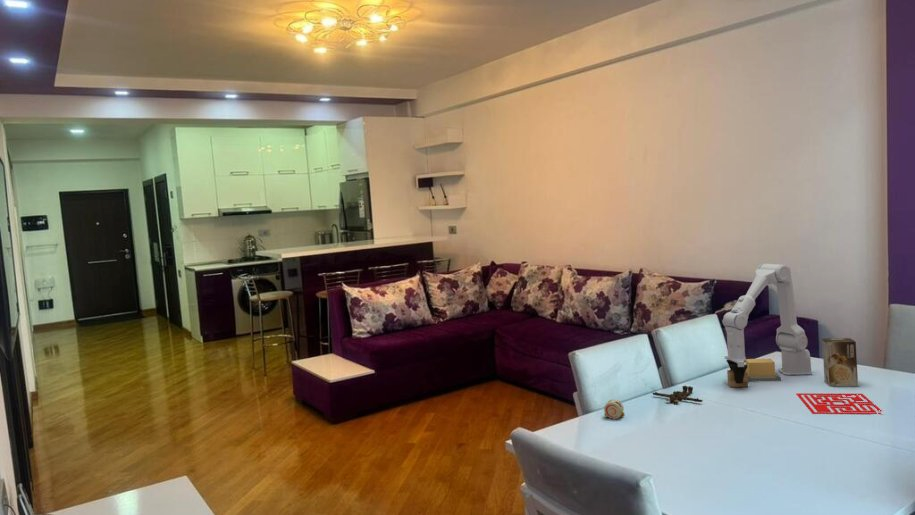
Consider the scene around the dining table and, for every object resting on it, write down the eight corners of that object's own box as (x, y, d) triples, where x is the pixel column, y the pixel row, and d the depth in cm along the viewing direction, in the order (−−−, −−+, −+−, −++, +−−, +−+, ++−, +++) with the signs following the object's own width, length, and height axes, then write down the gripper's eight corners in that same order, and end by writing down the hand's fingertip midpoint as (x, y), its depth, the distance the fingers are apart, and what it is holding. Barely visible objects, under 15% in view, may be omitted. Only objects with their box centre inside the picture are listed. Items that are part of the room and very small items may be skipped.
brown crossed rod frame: (713, 388, 217) (697, 396, 206) (713, 400, 217) (697, 408, 206) (664, 381, 229) (646, 388, 218) (664, 393, 229) (646, 400, 219)
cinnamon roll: (606, 414, 208) (605, 397, 207) (625, 415, 205) (624, 399, 204) (603, 418, 204) (602, 401, 203) (622, 420, 201) (621, 403, 201)
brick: (771, 371, 236) (770, 358, 236) (775, 375, 231) (774, 362, 230) (745, 371, 238) (745, 359, 238) (749, 375, 233) (748, 362, 232)
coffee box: (852, 381, 220) (851, 337, 219) (858, 387, 214) (857, 341, 213) (823, 381, 223) (821, 338, 222) (828, 386, 217) (827, 342, 216)
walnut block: (745, 383, 228) (744, 369, 227) (748, 386, 223) (747, 373, 223) (727, 383, 229) (727, 370, 229) (730, 386, 225) (729, 373, 224)
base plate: (772, 372, 239) (772, 367, 239) (781, 380, 227) (781, 376, 227) (739, 372, 242) (738, 368, 242) (746, 381, 230) (746, 376, 230)
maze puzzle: (885, 416, 188) (885, 413, 188) (812, 415, 193) (812, 413, 193) (862, 395, 207) (862, 393, 207) (796, 395, 212) (796, 393, 212)
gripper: (720, 340, 233) (722, 375, 234) (728, 349, 219) (730, 387, 220) (740, 340, 231) (742, 375, 232) (749, 349, 217) (751, 386, 218)
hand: (737, 381), depth 226 cm, fingers closed on walnut block, 4 cm apart
